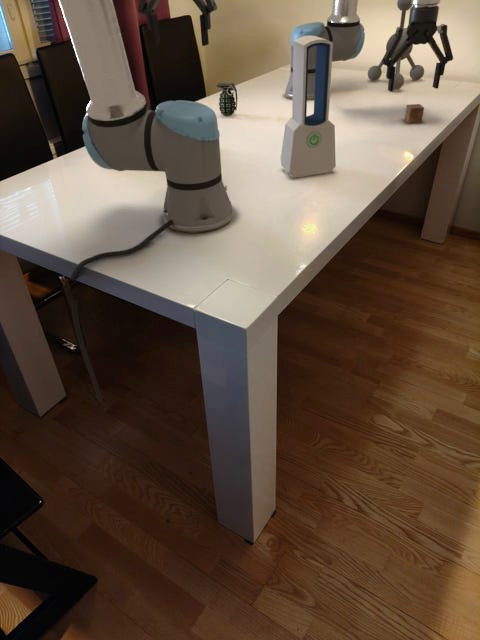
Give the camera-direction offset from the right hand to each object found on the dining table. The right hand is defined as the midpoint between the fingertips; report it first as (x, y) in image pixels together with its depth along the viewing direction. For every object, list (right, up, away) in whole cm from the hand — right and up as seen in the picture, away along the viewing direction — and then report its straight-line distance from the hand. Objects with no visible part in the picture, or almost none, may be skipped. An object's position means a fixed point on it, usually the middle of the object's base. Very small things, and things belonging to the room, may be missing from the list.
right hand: (412, 89), depth 147 cm
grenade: (-56, +2, +23) cm, 61 cm away
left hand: (-67, +1, -23) cm, 71 cm away
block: (+3, -7, +8) cm, 10 cm away
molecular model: (+11, +25, +47) cm, 54 cm away
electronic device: (-35, -31, -21) cm, 51 cm away
